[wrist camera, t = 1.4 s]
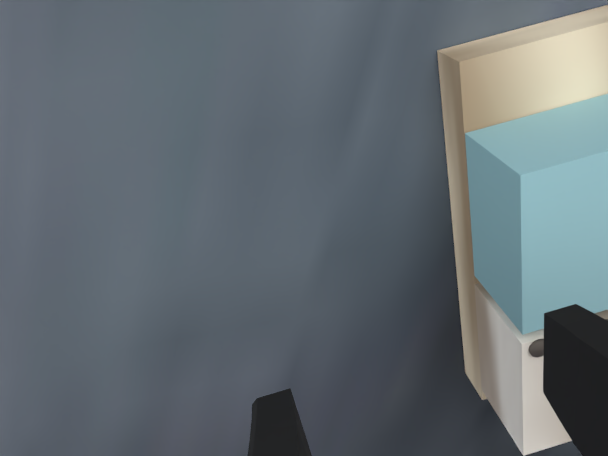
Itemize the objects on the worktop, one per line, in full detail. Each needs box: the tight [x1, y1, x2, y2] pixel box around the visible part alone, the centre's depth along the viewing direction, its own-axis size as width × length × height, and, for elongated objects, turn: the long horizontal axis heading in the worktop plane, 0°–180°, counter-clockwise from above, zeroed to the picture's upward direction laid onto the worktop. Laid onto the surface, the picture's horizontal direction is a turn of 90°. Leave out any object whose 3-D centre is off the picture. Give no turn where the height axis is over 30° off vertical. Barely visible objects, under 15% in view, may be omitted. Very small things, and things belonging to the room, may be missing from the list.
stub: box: [465, 94, 608, 335], centre depth 16 cm, size 5×5×3 cm
